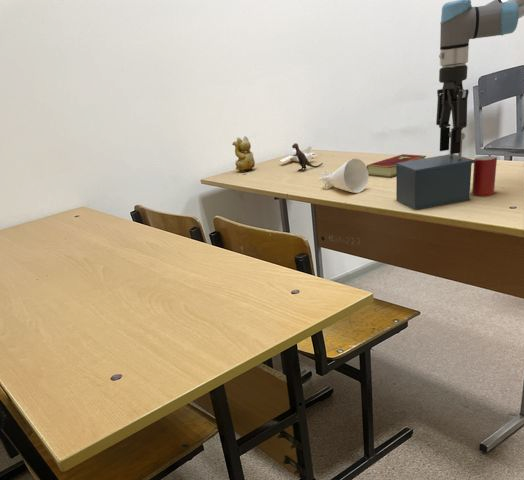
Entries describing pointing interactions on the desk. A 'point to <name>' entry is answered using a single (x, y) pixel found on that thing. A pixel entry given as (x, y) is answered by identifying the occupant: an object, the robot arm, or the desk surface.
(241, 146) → the decorative figurine
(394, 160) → the hardcover book
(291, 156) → the airplane model
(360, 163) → the rocket engine
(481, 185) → the can
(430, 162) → the lid
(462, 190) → the chest
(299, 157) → the dinosaur model
